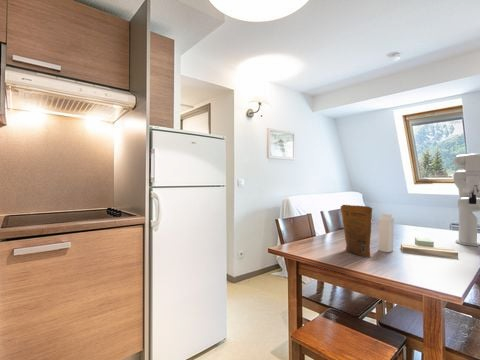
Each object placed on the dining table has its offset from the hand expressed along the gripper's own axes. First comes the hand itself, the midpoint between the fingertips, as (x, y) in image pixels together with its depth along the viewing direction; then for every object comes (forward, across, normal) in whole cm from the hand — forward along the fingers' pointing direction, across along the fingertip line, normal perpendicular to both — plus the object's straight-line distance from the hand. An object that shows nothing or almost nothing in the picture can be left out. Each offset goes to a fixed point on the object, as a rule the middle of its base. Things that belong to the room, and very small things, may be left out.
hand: (472, 203), depth 162 cm
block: (+29, +12, -26) cm, 40 cm away
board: (+28, +22, -25) cm, 44 cm away
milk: (+29, +29, -47) cm, 62 cm away
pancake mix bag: (+29, +45, -62) cm, 82 cm away
